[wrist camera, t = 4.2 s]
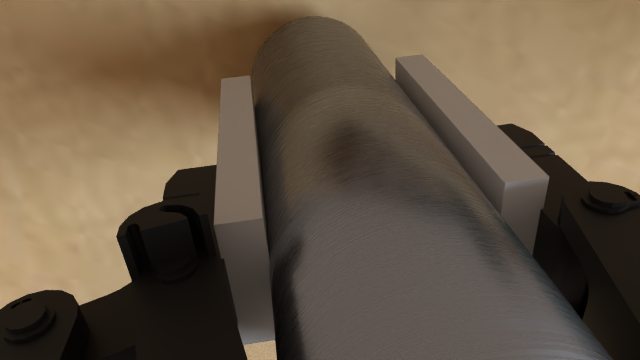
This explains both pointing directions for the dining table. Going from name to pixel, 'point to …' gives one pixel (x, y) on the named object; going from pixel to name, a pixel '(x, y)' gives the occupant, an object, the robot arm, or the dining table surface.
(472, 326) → the steel peg
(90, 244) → the dining table surface
